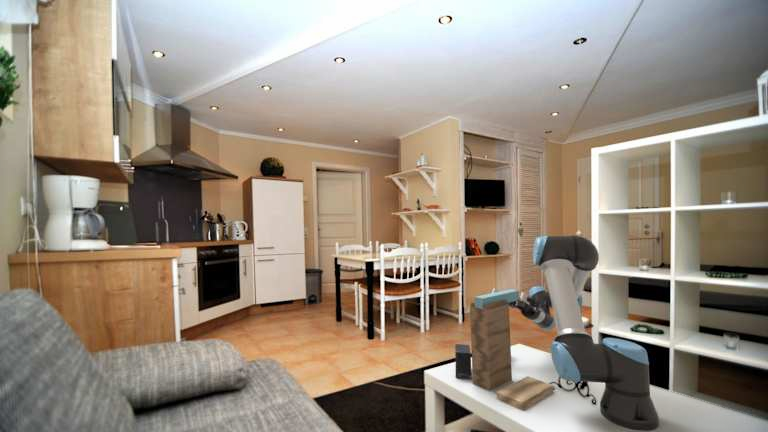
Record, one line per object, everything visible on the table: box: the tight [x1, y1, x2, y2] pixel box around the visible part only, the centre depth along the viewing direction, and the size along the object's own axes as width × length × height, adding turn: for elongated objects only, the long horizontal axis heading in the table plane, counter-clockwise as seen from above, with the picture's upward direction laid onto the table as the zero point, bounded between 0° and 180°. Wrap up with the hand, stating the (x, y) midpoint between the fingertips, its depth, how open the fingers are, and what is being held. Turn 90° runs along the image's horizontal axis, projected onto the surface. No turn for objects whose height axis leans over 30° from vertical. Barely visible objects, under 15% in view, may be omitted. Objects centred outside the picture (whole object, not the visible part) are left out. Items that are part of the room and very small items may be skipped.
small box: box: [454, 343, 472, 379], centre depth 144 cm, size 11×6×10 cm, turn 168°
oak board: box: [495, 376, 554, 411], centre depth 124 cm, size 10×20×2 cm, turn 127°
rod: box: [473, 288, 520, 309], centre depth 139 cm, size 4×24×4 cm, turn 126°
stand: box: [469, 300, 513, 392], centre depth 136 cm, size 8×14×32 cm, turn 126°
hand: (506, 293), depth 144 cm, fingers open, 13 cm apart
